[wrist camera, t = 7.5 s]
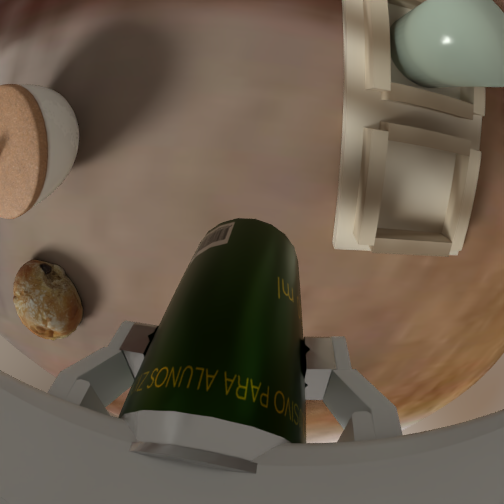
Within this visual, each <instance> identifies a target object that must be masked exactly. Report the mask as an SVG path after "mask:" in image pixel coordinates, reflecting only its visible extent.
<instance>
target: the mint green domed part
mask: <svg viewBox="0 0 504 504" xmlns="http://www.w3.org/2000/svg"><path fill="white" fill-rule="evenodd" d="M390 52H391V59H392V61H393V62H394V64H395V66H396V67H397V68H398V70H399V71H400V72H401V73H402V74H403V75H404V76H405V77H406V78H407V79H409V80H410V81H411V82H413V83H415V84H417V85H419V86H422V87H426V88H443V87H504V13H503V12H502V10H501V9H500V8H499V7H498V6H497V5H496V4H495V3H494V2H493V1H492V0H426V1H424V2H423V3H421V4H420V5H418V6H417V7H415V8H414V9H412V10H411V11H409V12H408V13H406V14H405V15H403V16H402V17H400V18H399V19H397V20H396V21H395V22H394V23H393V24H392V25H391V27H390Z"/></svg>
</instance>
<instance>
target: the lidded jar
mask: <svg viewBox="0 0 504 504" xmlns="http://www.w3.org/2000/svg"><path fill="white" fill-rule="evenodd" d="M78 144H79V126H78V122H77V119H76V116H75V113H74V111H73V109H72V107H71V106H70V104H69V103H68V102H67V100H66V99H65V98H64V97H63V96H62V95H60V94H59V93H57V92H56V91H54V90H52V89H50V88H46V87H43V86H40V85H28V84H25V85H17V84H5V85H1V86H0V217H2V218H6V219H14V218H17V217H19V216H21V215H23V214H24V213H26V212H27V211H28V210H30V209H31V208H32V207H33V206H35V205H37V204H38V203H40V202H41V201H43V200H44V199H46V198H47V197H48V196H49V195H51V194H52V193H53V192H54V191H55V190H56V189H57V188H58V187H59V186H60V185H61V184H62V182H63V181H64V180H65V178H66V177H67V175H68V174H69V172H70V170H71V168H72V166H73V164H74V161H75V158H76V155H77V151H78Z"/></svg>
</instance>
